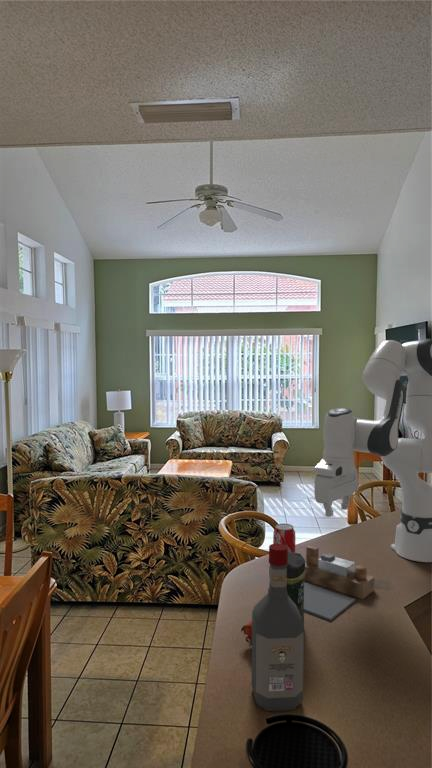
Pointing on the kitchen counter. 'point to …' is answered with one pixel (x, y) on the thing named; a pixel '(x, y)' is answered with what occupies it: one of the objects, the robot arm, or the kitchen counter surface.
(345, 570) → the lever cap
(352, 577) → the hand plane
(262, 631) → the liquor
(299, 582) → the coffee jar
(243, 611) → the kitchen counter surface
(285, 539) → the soda can
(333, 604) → the rubber mat
